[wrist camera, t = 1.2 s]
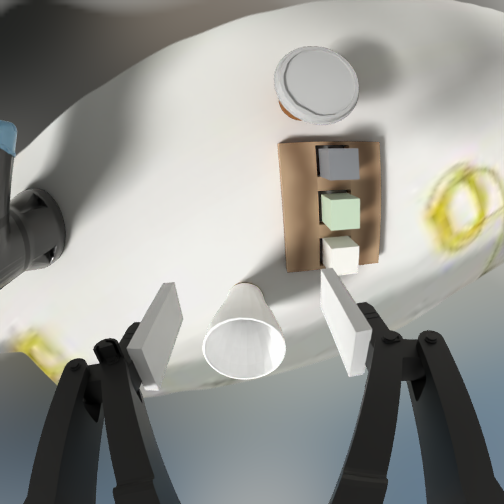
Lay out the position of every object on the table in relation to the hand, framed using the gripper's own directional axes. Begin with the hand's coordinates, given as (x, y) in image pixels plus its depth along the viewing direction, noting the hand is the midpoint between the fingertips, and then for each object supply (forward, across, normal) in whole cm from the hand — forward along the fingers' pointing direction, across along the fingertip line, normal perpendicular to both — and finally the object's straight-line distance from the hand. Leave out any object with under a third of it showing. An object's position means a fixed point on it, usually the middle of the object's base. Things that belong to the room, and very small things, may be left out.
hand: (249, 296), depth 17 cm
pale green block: (+24, +12, 0) cm, 27 cm away
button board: (+25, +12, 0) cm, 28 cm away
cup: (+26, -2, -15) cm, 30 cm away
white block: (+24, +12, -7) cm, 28 cm away
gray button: (+24, +13, +6) cm, 28 cm away
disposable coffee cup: (+26, +9, +16) cm, 31 cm away
